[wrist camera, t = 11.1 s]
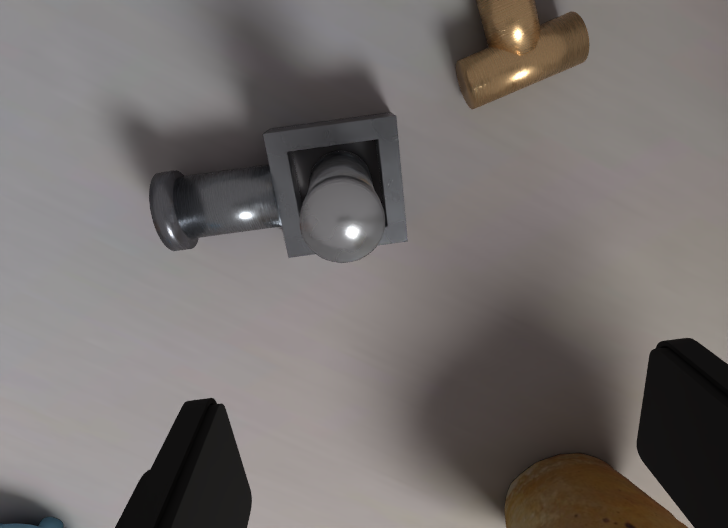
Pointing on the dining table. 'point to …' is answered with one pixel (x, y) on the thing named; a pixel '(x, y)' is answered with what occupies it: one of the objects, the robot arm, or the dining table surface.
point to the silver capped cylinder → (341, 209)
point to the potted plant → (581, 497)
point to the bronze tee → (519, 50)
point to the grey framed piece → (273, 187)
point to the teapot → (47, 526)
